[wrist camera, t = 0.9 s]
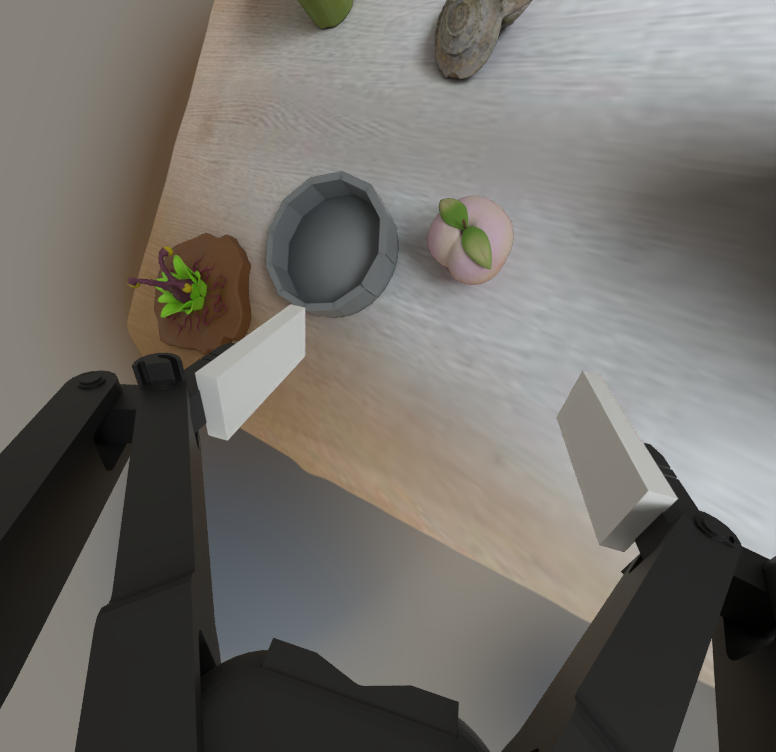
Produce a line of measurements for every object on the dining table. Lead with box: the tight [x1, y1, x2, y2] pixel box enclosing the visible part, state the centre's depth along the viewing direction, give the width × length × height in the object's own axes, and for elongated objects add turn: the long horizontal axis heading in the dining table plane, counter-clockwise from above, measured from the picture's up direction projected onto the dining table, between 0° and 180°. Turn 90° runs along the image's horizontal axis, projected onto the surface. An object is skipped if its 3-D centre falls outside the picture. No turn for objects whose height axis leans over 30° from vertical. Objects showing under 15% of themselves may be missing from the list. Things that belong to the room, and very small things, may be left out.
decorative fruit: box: [427, 196, 514, 285], centre depth 36 cm, size 9×8×10 cm
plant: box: [127, 233, 251, 354], centre depth 51 cm, size 20×20×11 cm
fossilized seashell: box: [435, 0, 532, 79], centre depth 39 cm, size 11×11×7 cm
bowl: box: [266, 171, 398, 318], centre depth 45 cm, size 18×18×4 cm
